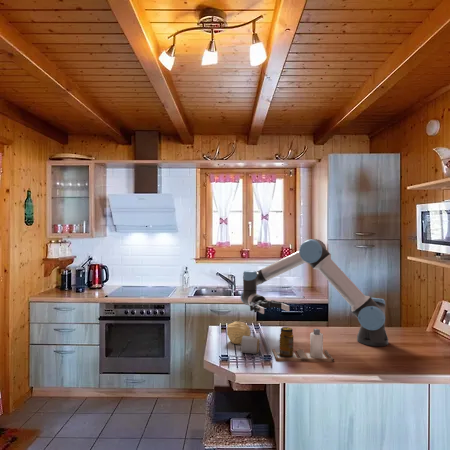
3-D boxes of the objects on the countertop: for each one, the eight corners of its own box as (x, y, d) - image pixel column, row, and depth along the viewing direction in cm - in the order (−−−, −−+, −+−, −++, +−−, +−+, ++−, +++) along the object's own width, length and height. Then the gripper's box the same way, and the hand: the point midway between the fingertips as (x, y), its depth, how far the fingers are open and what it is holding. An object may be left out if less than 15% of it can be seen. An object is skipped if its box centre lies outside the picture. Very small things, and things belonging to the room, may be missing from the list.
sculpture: (224, 344, 178) (224, 322, 178) (232, 337, 189) (233, 317, 189) (245, 347, 174) (246, 325, 174) (253, 340, 185) (253, 320, 185)
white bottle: (320, 354, 163) (321, 327, 163) (324, 358, 157) (324, 331, 157) (308, 353, 163) (309, 327, 163) (311, 358, 157) (311, 331, 157)
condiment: (290, 352, 165) (291, 326, 165) (298, 358, 157) (298, 331, 157) (275, 353, 163) (276, 326, 163) (282, 359, 155) (282, 332, 155)
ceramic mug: (258, 356, 162) (258, 339, 163) (240, 354, 164) (241, 338, 164) (260, 349, 173) (260, 333, 173) (243, 347, 174) (243, 332, 174)
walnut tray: (326, 355, 165) (326, 349, 165) (334, 364, 153) (334, 359, 153) (272, 354, 166) (272, 348, 166) (275, 363, 154) (276, 358, 154)
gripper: (278, 307, 196) (298, 315, 176) (235, 310, 187) (252, 319, 167) (277, 293, 196) (298, 300, 176) (235, 296, 187) (252, 303, 168)
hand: (276, 309), depth 172 cm, fingers open, 13 cm apart
